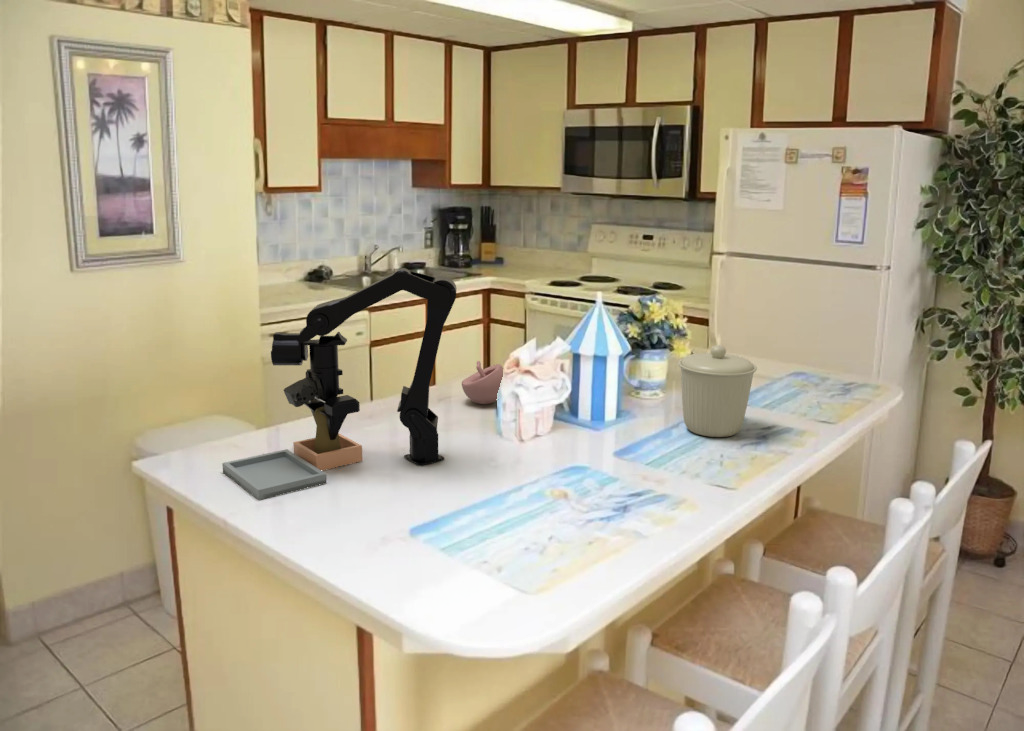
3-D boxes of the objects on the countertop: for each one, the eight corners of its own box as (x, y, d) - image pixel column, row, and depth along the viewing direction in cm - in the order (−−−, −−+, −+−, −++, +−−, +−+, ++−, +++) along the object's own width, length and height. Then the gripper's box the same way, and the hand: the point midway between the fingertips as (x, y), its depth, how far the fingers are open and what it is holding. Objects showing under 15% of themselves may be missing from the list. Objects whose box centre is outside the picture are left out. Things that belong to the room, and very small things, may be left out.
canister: (716, 448, 192) (723, 357, 187) (658, 427, 206) (663, 342, 201) (767, 434, 202) (775, 348, 197) (708, 415, 217) (714, 334, 211)
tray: (326, 483, 168) (326, 473, 168) (258, 500, 160) (258, 490, 159) (287, 458, 182) (286, 449, 181) (222, 472, 173) (222, 463, 173)
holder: (362, 461, 181) (362, 445, 180) (316, 472, 174) (316, 456, 173) (338, 447, 189) (338, 432, 188) (294, 457, 182) (293, 442, 181)
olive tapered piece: (327, 450, 185) (325, 401, 183) (348, 455, 182) (346, 406, 180) (307, 458, 180) (305, 408, 177) (329, 463, 177) (326, 413, 174)
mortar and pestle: (463, 396, 230) (463, 355, 227) (508, 397, 230) (508, 356, 227) (459, 409, 218) (459, 366, 216) (505, 410, 218) (506, 367, 215)
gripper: (268, 362, 178) (272, 432, 182) (308, 380, 164) (312, 456, 168) (317, 354, 185) (320, 423, 189) (359, 372, 171) (362, 445, 175)
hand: (327, 436), depth 180 cm, fingers closed on olive tapered piece, 4 cm apart
